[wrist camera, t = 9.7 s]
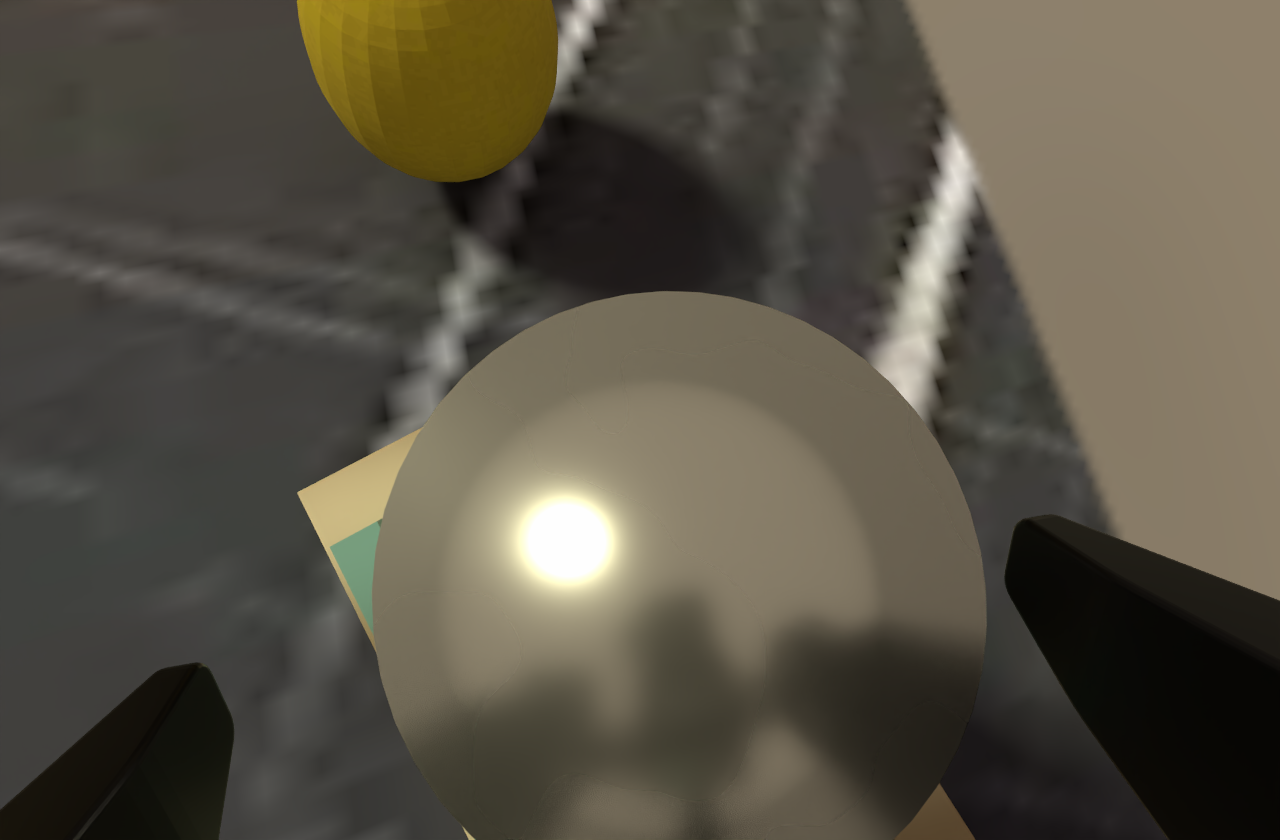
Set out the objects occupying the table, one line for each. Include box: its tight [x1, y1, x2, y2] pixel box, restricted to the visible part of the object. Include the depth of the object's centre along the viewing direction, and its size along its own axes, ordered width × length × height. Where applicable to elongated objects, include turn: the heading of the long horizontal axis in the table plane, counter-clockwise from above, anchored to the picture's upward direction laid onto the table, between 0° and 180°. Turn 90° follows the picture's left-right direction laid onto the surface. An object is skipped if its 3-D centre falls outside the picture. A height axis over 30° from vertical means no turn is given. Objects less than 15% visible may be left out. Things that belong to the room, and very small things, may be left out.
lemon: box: [297, 0, 558, 182], centre depth 17 cm, size 6×6×8 cm
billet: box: [372, 291, 987, 840], centre depth 11 cm, size 4×4×12 cm
